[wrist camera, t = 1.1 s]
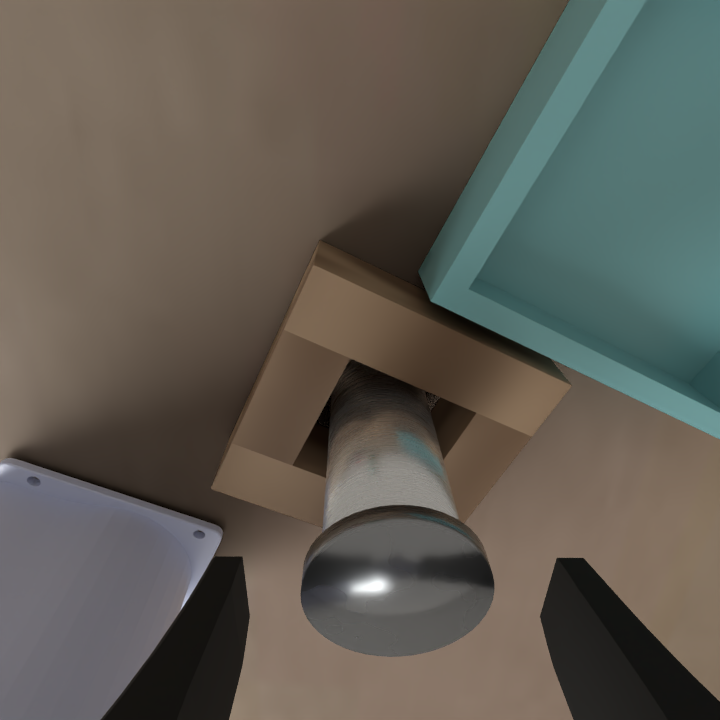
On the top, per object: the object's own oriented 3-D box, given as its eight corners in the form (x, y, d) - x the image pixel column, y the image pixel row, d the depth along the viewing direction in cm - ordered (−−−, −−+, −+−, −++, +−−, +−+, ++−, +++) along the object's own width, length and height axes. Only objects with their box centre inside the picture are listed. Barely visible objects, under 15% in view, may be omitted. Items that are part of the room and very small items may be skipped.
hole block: (229, 438, 20) (210, 489, 17) (319, 239, 16) (313, 264, 14) (421, 509, 22) (431, 565, 19) (539, 345, 18) (571, 385, 16)
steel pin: (303, 416, 20) (271, 627, 12) (351, 324, 18) (353, 498, 10) (400, 454, 21) (432, 674, 13) (455, 370, 19) (532, 563, 11)
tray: (418, 271, 17) (430, 301, 14) (654, -152, 12) (739, -226, 10) (680, 399, 20) (732, 445, 17) (961, 92, 15) (1096, 87, 12)
